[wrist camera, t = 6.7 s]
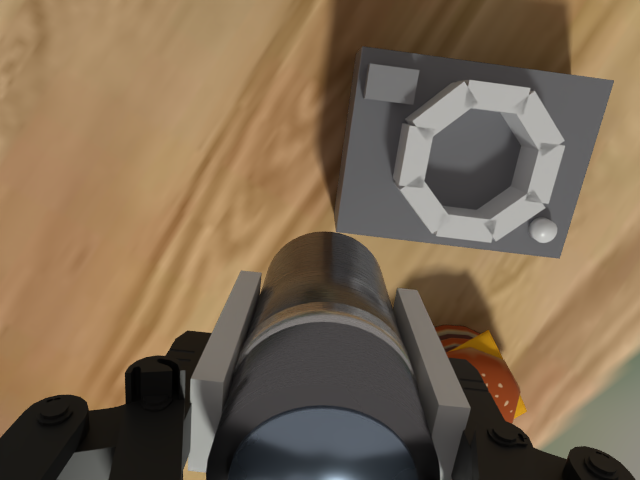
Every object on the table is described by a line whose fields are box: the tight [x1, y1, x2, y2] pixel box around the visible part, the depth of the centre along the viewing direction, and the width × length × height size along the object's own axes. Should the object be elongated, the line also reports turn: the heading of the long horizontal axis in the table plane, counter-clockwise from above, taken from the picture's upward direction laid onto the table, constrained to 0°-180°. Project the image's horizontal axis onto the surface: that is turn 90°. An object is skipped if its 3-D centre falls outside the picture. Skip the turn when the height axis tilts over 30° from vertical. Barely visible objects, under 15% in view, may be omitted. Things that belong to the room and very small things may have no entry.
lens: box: [206, 232, 440, 480], centre depth 14 cm, size 5×5×10 cm
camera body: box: [334, 46, 614, 259], centre depth 31 cm, size 16×12×8 cm
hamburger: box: [435, 325, 527, 423], centre depth 38 cm, size 9×10×7 cm
